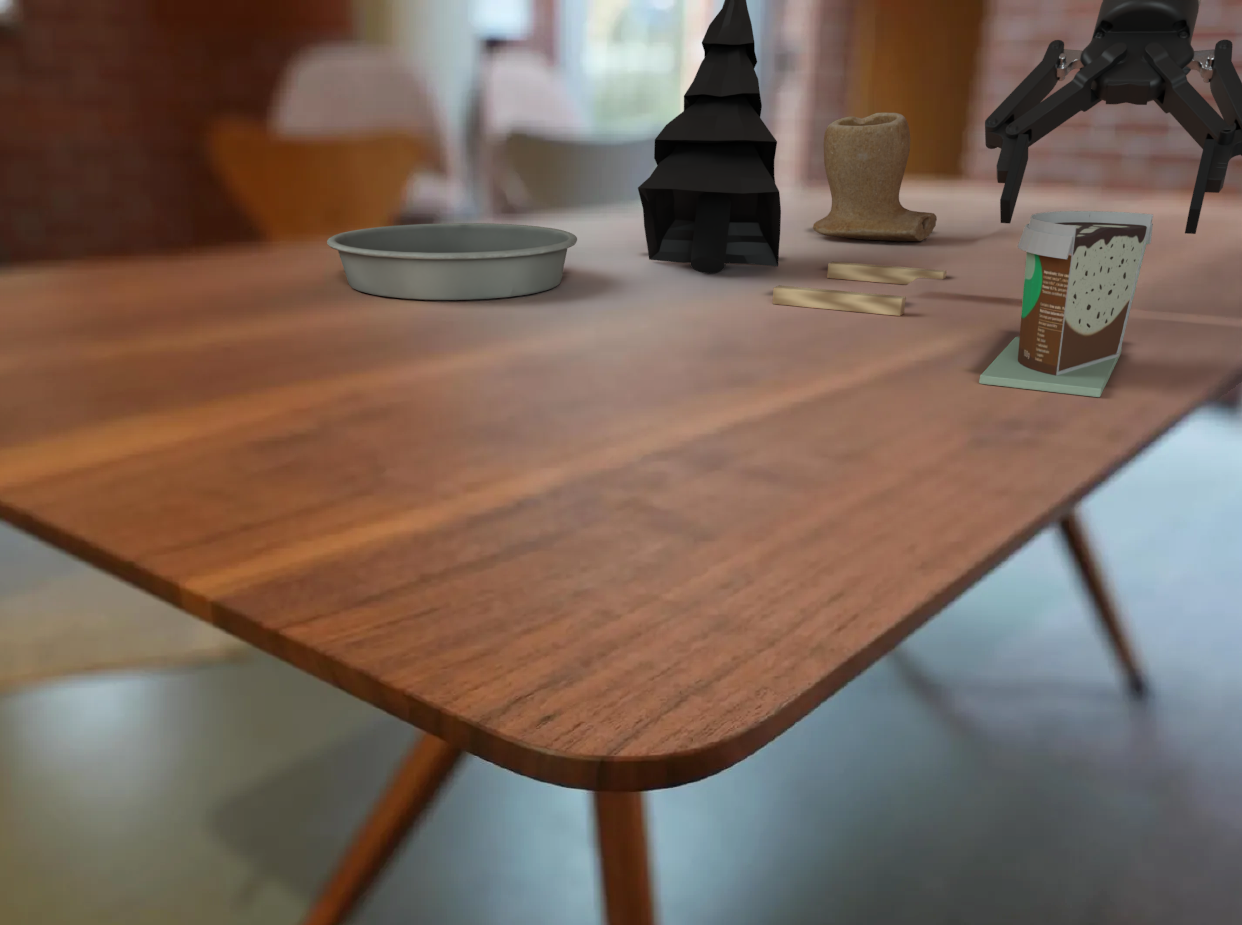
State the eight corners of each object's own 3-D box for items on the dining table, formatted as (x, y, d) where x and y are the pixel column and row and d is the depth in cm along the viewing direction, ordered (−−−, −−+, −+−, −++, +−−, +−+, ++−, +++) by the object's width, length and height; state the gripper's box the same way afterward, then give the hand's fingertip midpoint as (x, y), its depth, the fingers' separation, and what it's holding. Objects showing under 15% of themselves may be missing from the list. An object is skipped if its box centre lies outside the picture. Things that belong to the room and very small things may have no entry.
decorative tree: (776, 300, 129) (804, 16, 135) (777, 231, 115) (807, -83, 120) (645, 294, 131) (677, 15, 137) (629, 226, 117) (666, -82, 122)
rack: (945, 285, 119) (947, 270, 118) (900, 316, 104) (902, 298, 103) (830, 276, 124) (832, 261, 123) (772, 303, 109) (773, 287, 108)
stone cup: (803, 243, 147) (814, 113, 141) (819, 232, 157) (830, 110, 151) (926, 249, 143) (943, 115, 136) (935, 237, 153) (950, 112, 146)
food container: (1052, 340, 92) (1076, 206, 88) (1128, 353, 88) (1156, 213, 84) (967, 363, 85) (988, 218, 80) (1045, 379, 81) (1071, 226, 76)
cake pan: (548, 261, 131) (547, 218, 129) (604, 299, 110) (604, 249, 108) (325, 268, 126) (321, 223, 124) (338, 309, 104) (333, 256, 102)
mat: (1120, 354, 91) (1122, 346, 90) (1099, 397, 79) (1101, 388, 78) (1014, 344, 94) (1015, 336, 94) (978, 383, 82) (979, 375, 81)
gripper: (1312, 42, 94) (1267, 259, 88) (994, 43, 104) (936, 238, 98) (1334, -39, 88) (1288, 190, 82) (992, -30, 97) (930, 175, 92)
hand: (1095, 217), depth 90 cm, fingers open, 13 cm apart
